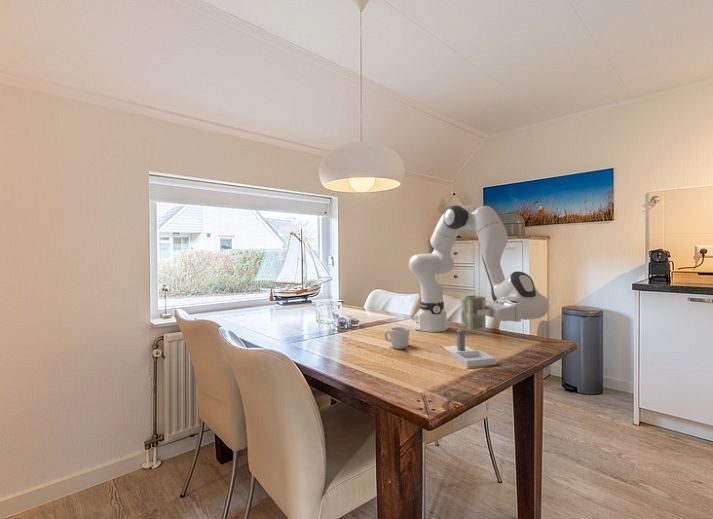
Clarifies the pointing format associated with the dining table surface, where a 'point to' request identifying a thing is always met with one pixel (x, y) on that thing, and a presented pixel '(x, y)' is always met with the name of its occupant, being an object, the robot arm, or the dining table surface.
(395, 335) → the cup
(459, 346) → the stake board
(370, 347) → the dining table surface
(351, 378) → the dining table surface
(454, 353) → the tray
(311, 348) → the dining table surface
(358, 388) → the dining table surface
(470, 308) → the sleeve
